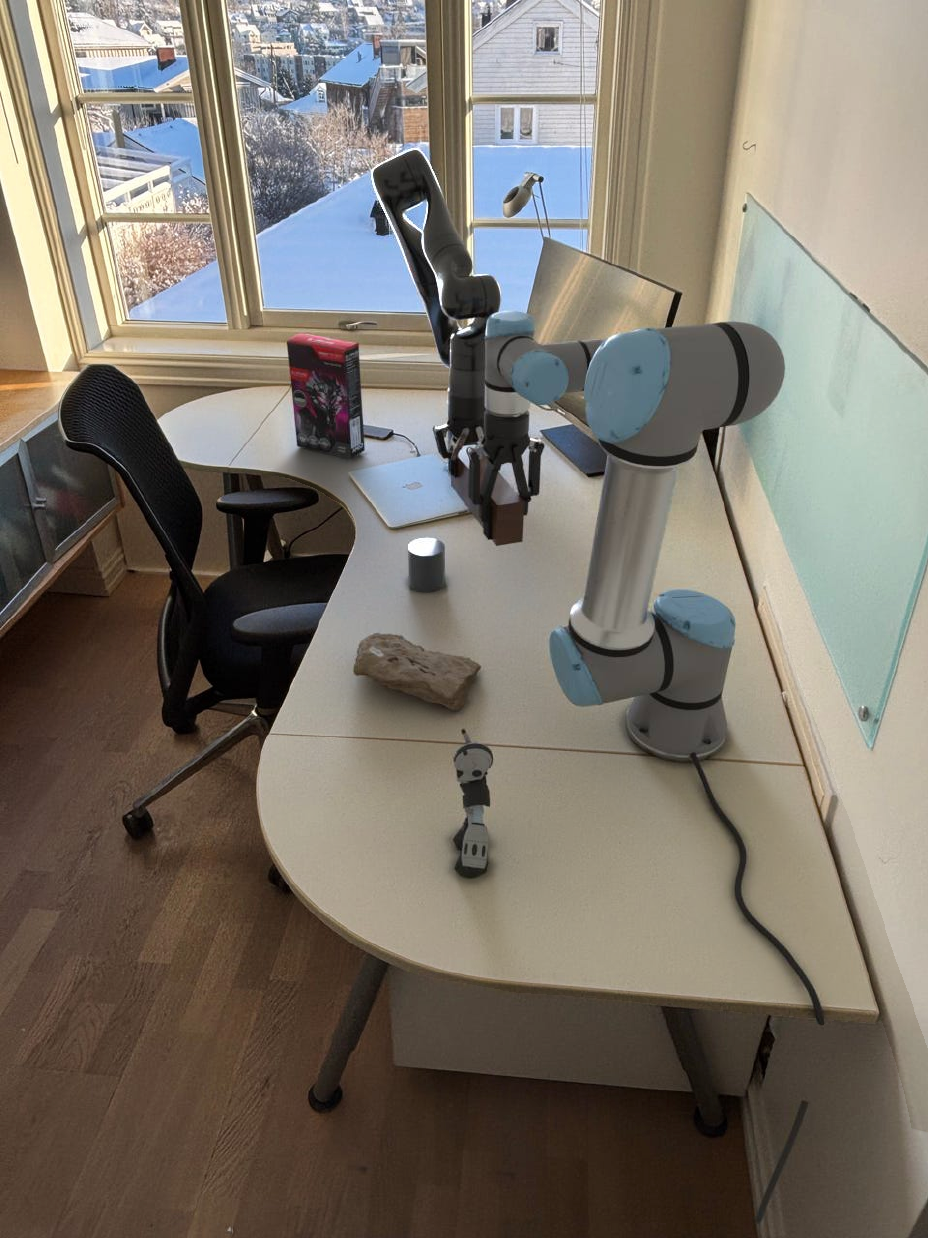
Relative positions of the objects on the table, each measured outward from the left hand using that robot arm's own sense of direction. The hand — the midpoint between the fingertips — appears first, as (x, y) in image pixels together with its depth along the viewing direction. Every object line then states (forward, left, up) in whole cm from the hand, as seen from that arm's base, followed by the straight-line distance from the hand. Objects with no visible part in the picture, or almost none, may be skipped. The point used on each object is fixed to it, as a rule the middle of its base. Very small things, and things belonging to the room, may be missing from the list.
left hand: (468, 473), depth 178 cm
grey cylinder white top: (+12, -7, -18) cm, 23 cm away
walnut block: (+9, +4, -4) cm, 10 cm away
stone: (+43, -7, -18) cm, 47 cm away
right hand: (+18, +7, -3) cm, 19 cm away
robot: (+80, +5, -18) cm, 82 cm away
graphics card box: (-50, -37, -18) cm, 65 cm away
